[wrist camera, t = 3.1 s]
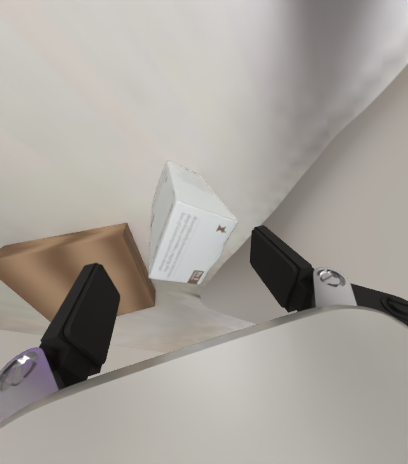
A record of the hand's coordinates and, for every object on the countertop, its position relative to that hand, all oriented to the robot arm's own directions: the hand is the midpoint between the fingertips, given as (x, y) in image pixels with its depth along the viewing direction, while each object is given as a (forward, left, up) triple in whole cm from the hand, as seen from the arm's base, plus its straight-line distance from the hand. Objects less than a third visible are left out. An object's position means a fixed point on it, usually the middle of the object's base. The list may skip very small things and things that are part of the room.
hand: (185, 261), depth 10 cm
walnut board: (+14, +9, -12) cm, 21 cm away
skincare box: (0, -1, -13) cm, 13 cm away
